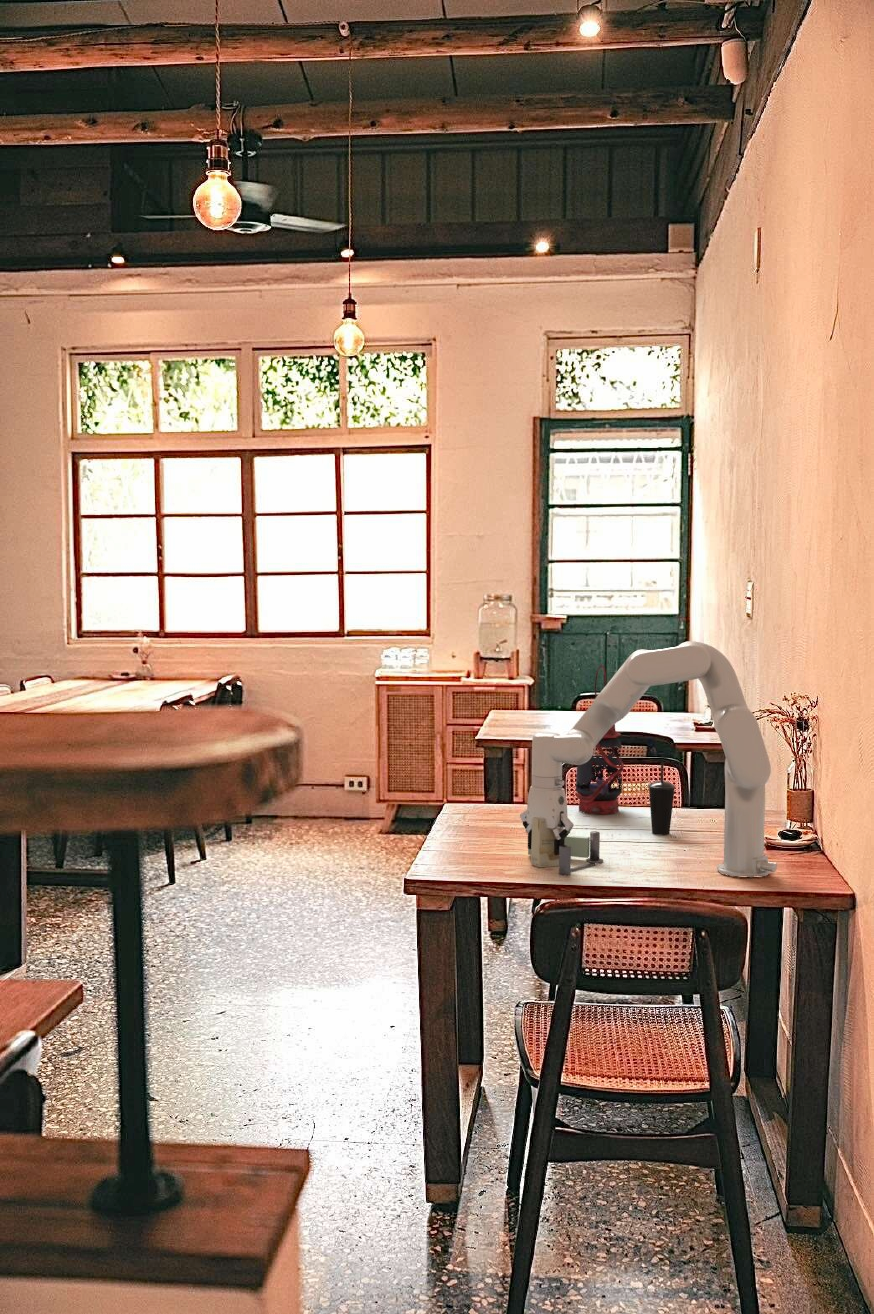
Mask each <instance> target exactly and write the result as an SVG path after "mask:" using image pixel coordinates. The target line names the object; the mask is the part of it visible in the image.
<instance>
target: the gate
mask: <svg viewBox="0 0 874 1314" xmlns="http://www.w3.org/2000/svg"><path fill="white" fill-rule="evenodd" d="M564 845H567V846H571V858H572V857H574V858H575V857H576V858H583V859H584V858H585V859H588V858H590V836H586V835H584V836H583V835H581V836H580V835H573V834H572V835H571V834H568V835H567V838H565V843H564ZM527 849H528V848H527ZM527 854H528V855H529V856H531V849H528V850H527Z"/></svg>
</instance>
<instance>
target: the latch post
mask: <svg viewBox="0 0 874 1314" xmlns="http://www.w3.org/2000/svg"><path fill="white" fill-rule="evenodd" d="M571 861H572V856H571V846H567V845H563V846H559V866H558V875H559V876H563V877H566V876H571V873H572V872H575V871H579V870H583V869H587V868H590V867H594V866H596V863H587V864H583V865H578V866H575V867H572V866H571V865H572V864H571V863H572V862H571ZM571 871H572V872H571Z"/></svg>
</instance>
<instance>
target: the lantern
mask: <svg viewBox="0 0 874 1314" xmlns="http://www.w3.org/2000/svg"><path fill="white" fill-rule="evenodd" d="M601 668H602V669H603V672H604V673H603V674H604V675H603V676H604V687H605V686H606V685H607V674H606V669H605V666H604V665H601V664H600V665H599V666H598V667H597V670H596V674H595V680H594V695H595V698H596V697H597V696H598V695H597V680H598V674H599V670H600V669H601ZM619 736H621V732H618V731H616V723H615V724H614V725H613V726H612V727H611V728H610V729H609V730H608V731H607V733H606V734H605V735H604V736H603V737H602V739H601V740H600V741H599V742H598V744H597V745H596V746H595V751H596V750H597V751H598V752H599V753H595V752H594V754H592V757H591V759H590V760H589V761H588V762H586V763H584V764H581V765H576V776H575V777H576V779H575V790H576V795H575V796H576V798H577V800H579V804H578V812H580V811H582V812H581V813H583V812H584V813H583V814H586V813H587V814H588V815H601V816H607V815H615V814H616V813H617V812H618V811H619V801H618V800H619V796H621V794H622V792H623V784H622V782H623V775H622V773H623V772H624V771H625V769H624V767H625V765H624V764H625V763H623V755H622V753H620V751H619V750H622V747H623V746H622V742H621V741H620V739H619ZM604 750H605V751H606V752H607V754H606V752H605V751H604ZM593 751H594V749H593ZM594 755H595V756H594ZM605 770H606V773H607V774H606V776H607V778H606V780H605V776H604V772H603V771H605ZM614 783H616V785H617V784H618V785H617V786H618V787H616V786H614V787H612V785H613V784H614Z"/></svg>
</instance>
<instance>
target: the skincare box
mask: <svg viewBox="0 0 874 1314" xmlns="http://www.w3.org/2000/svg"><path fill="white" fill-rule="evenodd" d="M558 831H559V830H558ZM559 833H560V831H559ZM555 839H557V838H556V836H555V834H554V832H553V830H552V829H547V828H546V825H545V820H544V819H541V818H536V817H535V818H534V817H533V819H532V843H531V855H530V865H532V866H534V867H537V868H539V867H541V868H549V867H559V855H555V854H554V840H555Z"/></svg>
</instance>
